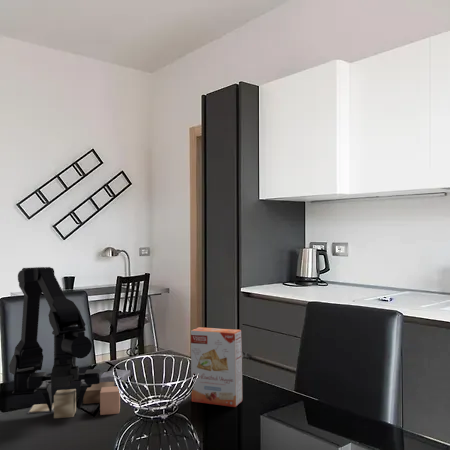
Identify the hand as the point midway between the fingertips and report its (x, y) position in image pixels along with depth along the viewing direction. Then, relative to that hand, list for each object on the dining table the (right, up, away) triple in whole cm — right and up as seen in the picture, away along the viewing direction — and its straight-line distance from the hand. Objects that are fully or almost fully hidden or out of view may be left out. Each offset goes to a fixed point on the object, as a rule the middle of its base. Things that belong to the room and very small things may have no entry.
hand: (65, 410), depth 131 cm
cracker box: (+41, -1, +8) cm, 42 cm away
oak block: (0, -1, 0) cm, 1 cm away
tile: (-8, -1, +5) cm, 9 cm away
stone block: (+6, -3, +29) cm, 30 cm away
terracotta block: (+12, -1, +2) cm, 12 cm away
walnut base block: (+6, -2, +13) cm, 14 cm away
